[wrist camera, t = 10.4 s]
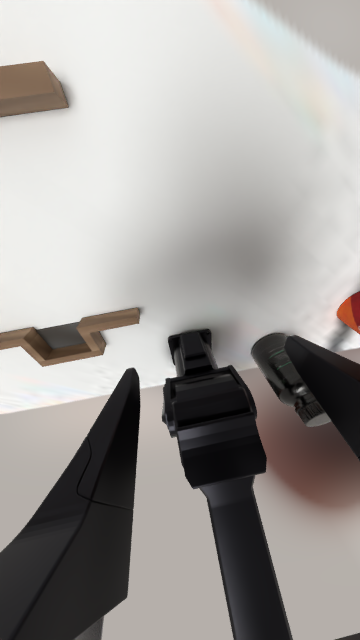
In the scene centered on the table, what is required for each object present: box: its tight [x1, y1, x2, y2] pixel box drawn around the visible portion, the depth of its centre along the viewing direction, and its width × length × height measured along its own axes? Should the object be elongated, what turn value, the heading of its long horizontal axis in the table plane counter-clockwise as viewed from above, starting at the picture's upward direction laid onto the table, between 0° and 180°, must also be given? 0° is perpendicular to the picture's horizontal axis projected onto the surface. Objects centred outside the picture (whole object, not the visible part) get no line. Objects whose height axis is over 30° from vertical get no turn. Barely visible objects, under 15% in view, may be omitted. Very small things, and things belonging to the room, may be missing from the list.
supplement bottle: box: [252, 334, 331, 427], centre depth 25 cm, size 7×7×12 cm
